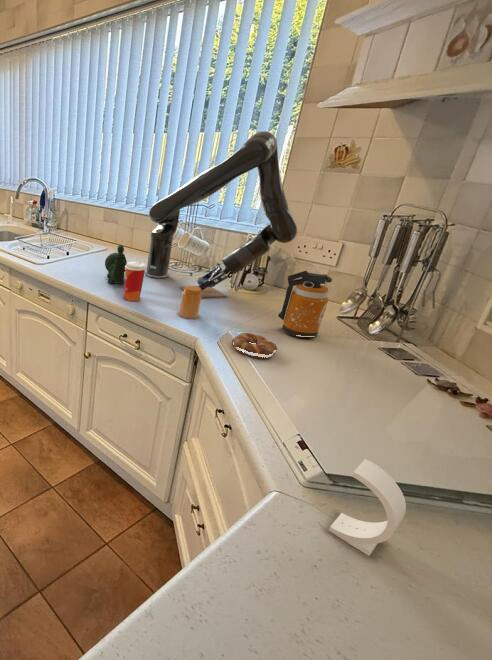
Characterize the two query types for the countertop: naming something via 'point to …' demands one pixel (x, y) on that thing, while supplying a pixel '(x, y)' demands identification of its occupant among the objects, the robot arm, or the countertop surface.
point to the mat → (209, 293)
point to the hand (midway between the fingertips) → (199, 285)
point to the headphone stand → (366, 532)
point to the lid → (202, 280)
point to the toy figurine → (116, 266)
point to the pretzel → (260, 346)
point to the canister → (305, 304)
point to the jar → (190, 302)
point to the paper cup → (133, 280)
